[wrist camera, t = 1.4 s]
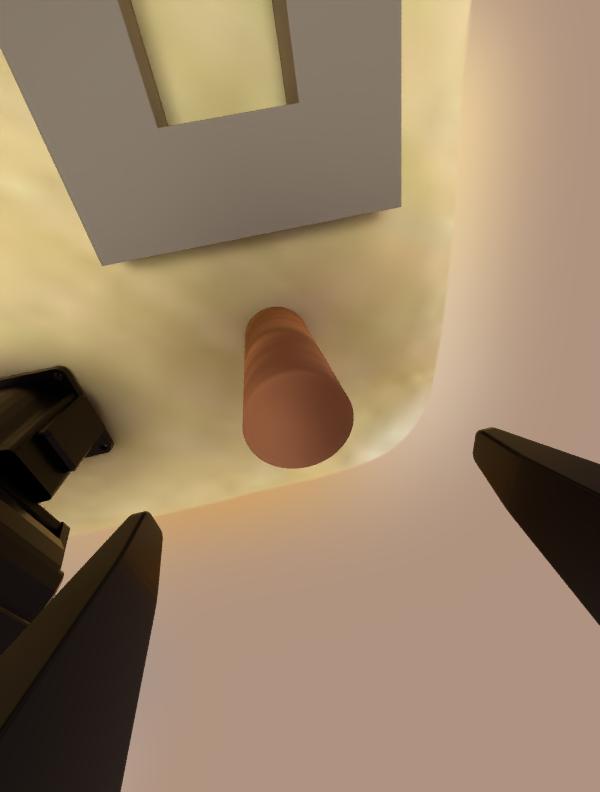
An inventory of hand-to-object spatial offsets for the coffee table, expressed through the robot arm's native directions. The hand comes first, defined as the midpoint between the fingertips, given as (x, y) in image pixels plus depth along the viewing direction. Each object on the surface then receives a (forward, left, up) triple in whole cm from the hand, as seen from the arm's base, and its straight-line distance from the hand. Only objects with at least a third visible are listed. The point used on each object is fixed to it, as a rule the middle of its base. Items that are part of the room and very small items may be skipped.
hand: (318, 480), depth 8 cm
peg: (0, 0, -13) cm, 13 cm away
